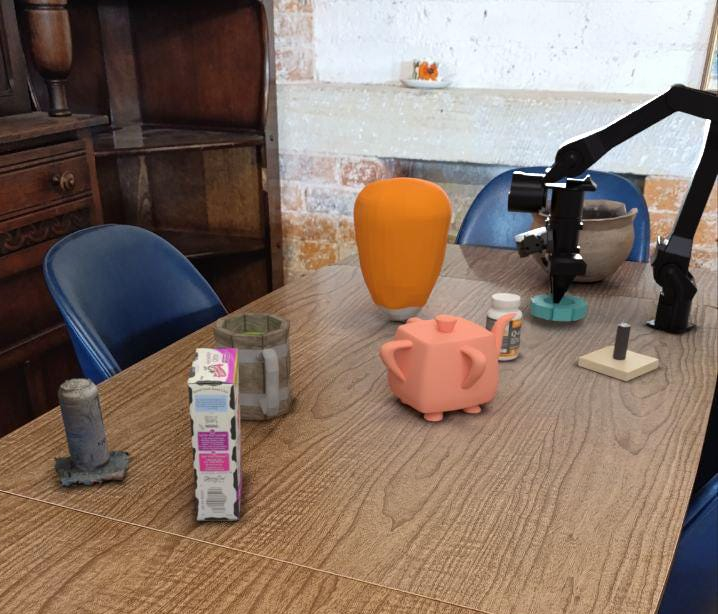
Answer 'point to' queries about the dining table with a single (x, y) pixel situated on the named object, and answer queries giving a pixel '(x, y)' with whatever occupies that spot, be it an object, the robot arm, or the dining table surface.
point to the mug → (259, 361)
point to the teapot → (444, 364)
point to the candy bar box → (216, 433)
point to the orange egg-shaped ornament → (401, 242)
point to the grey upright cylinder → (86, 437)
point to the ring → (558, 307)
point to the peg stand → (619, 358)
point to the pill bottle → (512, 333)
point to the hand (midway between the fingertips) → (555, 301)
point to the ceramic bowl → (598, 237)
